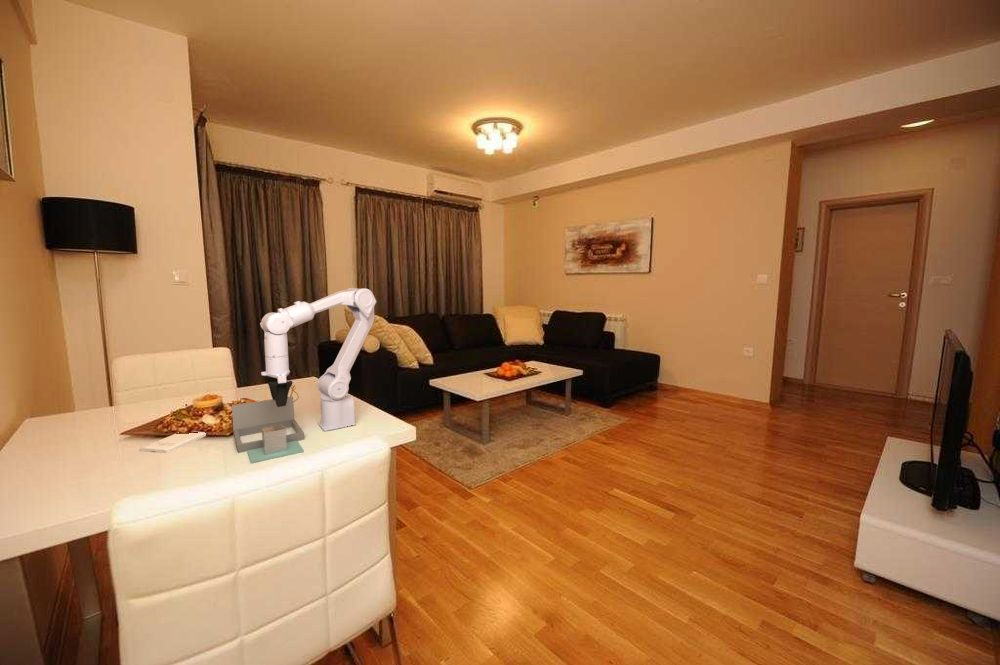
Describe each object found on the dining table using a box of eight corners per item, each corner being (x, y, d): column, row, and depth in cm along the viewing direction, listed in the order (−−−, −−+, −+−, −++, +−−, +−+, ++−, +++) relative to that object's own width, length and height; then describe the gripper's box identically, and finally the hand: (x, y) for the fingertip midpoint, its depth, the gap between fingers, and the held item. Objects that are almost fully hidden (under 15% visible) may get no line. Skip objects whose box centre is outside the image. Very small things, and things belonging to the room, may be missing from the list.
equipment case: (294, 424, 129) (292, 396, 128) (304, 439, 117) (302, 408, 116) (233, 435, 120) (231, 405, 119) (238, 452, 108) (235, 419, 107)
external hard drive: (207, 437, 119) (166, 455, 107) (182, 435, 121) (139, 453, 108) (206, 432, 119) (166, 449, 107) (181, 430, 120) (139, 447, 108)
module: (284, 445, 112) (283, 424, 111) (286, 450, 108) (285, 428, 108) (263, 450, 109) (261, 428, 108) (265, 455, 105) (263, 432, 105)
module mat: (297, 442, 115) (297, 440, 115) (303, 451, 109) (303, 450, 109) (247, 452, 108) (247, 450, 108) (250, 463, 102) (250, 461, 102)
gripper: (257, 352, 119) (259, 398, 120) (264, 361, 107) (266, 411, 109) (284, 350, 123) (286, 395, 125) (293, 358, 111) (296, 407, 113)
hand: (279, 402), depth 117 cm, fingers open, 7 cm apart
